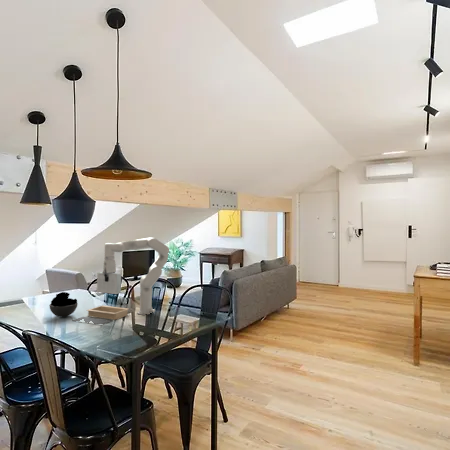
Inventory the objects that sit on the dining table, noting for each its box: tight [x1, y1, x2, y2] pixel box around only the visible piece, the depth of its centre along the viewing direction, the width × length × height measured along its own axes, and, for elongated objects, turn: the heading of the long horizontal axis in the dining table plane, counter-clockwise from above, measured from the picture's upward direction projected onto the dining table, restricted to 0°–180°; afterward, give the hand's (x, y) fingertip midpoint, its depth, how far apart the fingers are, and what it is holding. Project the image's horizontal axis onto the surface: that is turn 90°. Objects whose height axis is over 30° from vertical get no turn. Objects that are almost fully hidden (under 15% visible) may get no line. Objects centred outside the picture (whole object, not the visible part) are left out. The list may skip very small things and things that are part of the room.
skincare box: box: [96, 271, 122, 295], centre depth 270 cm, size 21×6×16 cm, turn 65°
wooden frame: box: [86, 305, 129, 321], centre depth 270 cm, size 27×19×5 cm
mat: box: [72, 316, 112, 325], centre depth 253 cm, size 27×11×1 cm, turn 69°
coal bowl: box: [49, 291, 79, 318], centre depth 264 cm, size 20×20×19 cm
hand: (109, 280), depth 270 cm, fingers closed on skincare box, 5 cm apart
